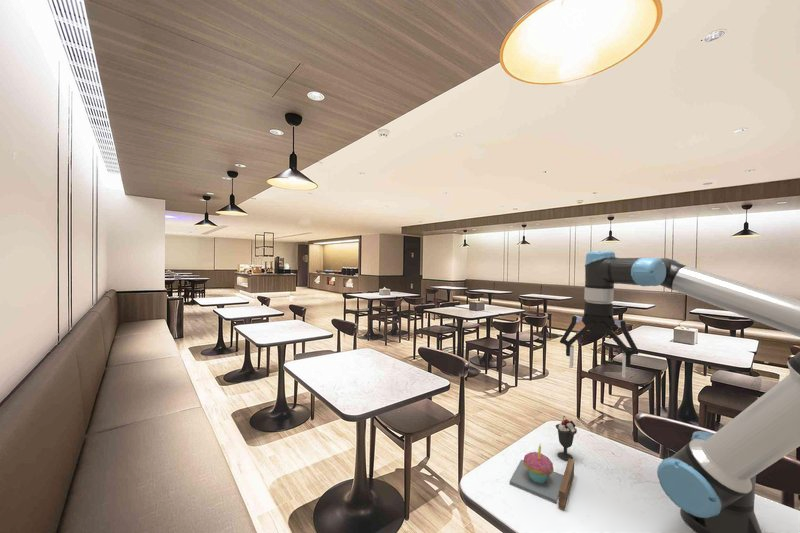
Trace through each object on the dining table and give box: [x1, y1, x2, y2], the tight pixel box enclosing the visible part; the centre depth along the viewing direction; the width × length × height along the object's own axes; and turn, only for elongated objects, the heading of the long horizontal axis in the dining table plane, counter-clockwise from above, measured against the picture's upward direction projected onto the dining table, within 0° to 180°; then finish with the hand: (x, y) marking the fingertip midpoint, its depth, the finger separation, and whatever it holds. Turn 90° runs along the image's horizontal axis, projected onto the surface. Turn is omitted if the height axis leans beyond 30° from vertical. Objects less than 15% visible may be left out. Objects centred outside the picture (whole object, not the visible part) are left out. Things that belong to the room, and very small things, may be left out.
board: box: [509, 459, 564, 505], centre depth 99 cm, size 13×13×1 cm
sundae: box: [555, 415, 578, 462], centre depth 111 cm, size 7×7×15 cm
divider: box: [557, 458, 575, 512], centre depth 95 cm, size 2×18×5 cm, turn 144°
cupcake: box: [523, 443, 554, 483], centre depth 99 cm, size 9×8×12 cm
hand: (596, 371), depth 98 cm, fingers open, 13 cm apart
